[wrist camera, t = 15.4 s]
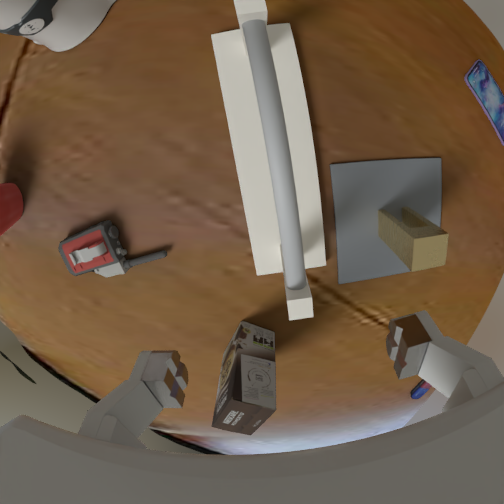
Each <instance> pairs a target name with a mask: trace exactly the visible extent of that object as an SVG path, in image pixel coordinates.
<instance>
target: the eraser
mask: <svg viewBox="0 0 504 504" xmlns="http://www.w3.org/2000/svg"><path fill="white" fill-rule="evenodd" d="M431 386H432V385H430V384H429V383H428V382H426V381H425V380H424V379H422V380H421V381H420V382H419V384H418V385H417V386H416V387H415V388H414V389H413V390H412V391H411V398H413V399H418V398H420V397H422V396H423V395H424V394H425V393H426V392H427V391H428V390H429V388H430V387H431Z"/></svg>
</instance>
